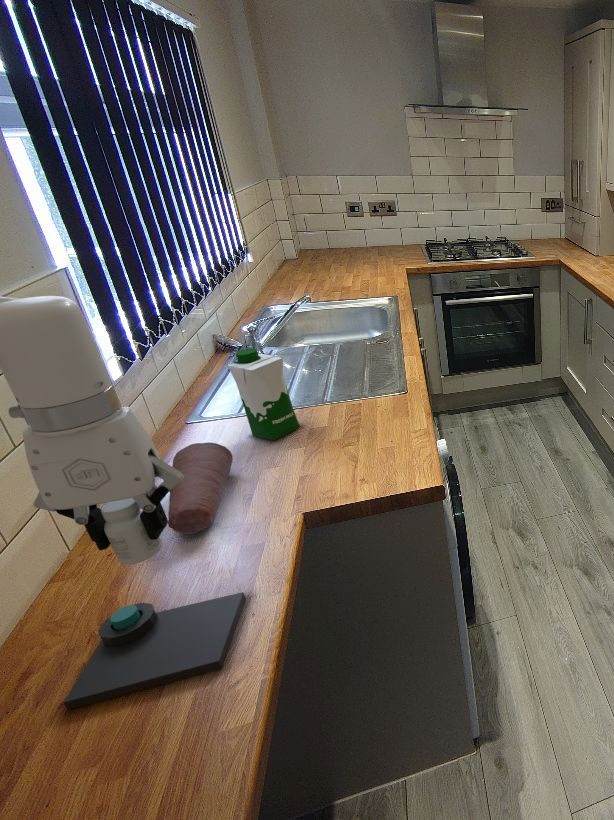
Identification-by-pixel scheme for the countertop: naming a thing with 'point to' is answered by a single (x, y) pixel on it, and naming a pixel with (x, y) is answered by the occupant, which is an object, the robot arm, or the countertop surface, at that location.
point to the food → (198, 486)
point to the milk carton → (264, 394)
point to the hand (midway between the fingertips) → (133, 536)
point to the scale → (158, 649)
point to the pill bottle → (128, 532)
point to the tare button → (125, 617)
